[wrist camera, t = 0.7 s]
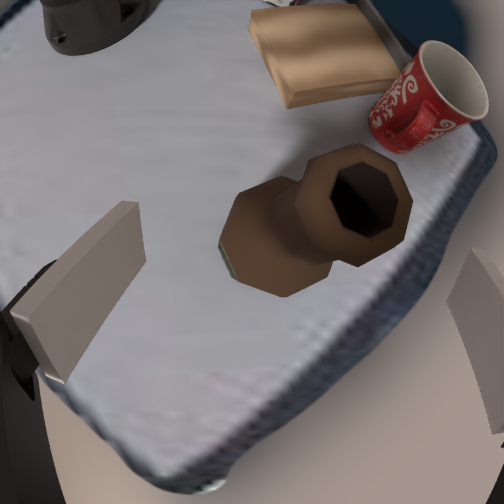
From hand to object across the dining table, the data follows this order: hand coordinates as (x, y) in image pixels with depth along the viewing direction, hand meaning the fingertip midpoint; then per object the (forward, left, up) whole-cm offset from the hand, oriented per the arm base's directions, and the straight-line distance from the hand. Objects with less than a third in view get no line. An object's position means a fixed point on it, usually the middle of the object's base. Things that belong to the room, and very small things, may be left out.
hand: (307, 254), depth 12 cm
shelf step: (-21, +17, -20) cm, 34 cm away
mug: (-9, +21, -21) cm, 31 cm away
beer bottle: (-1, +1, -21) cm, 21 cm away
